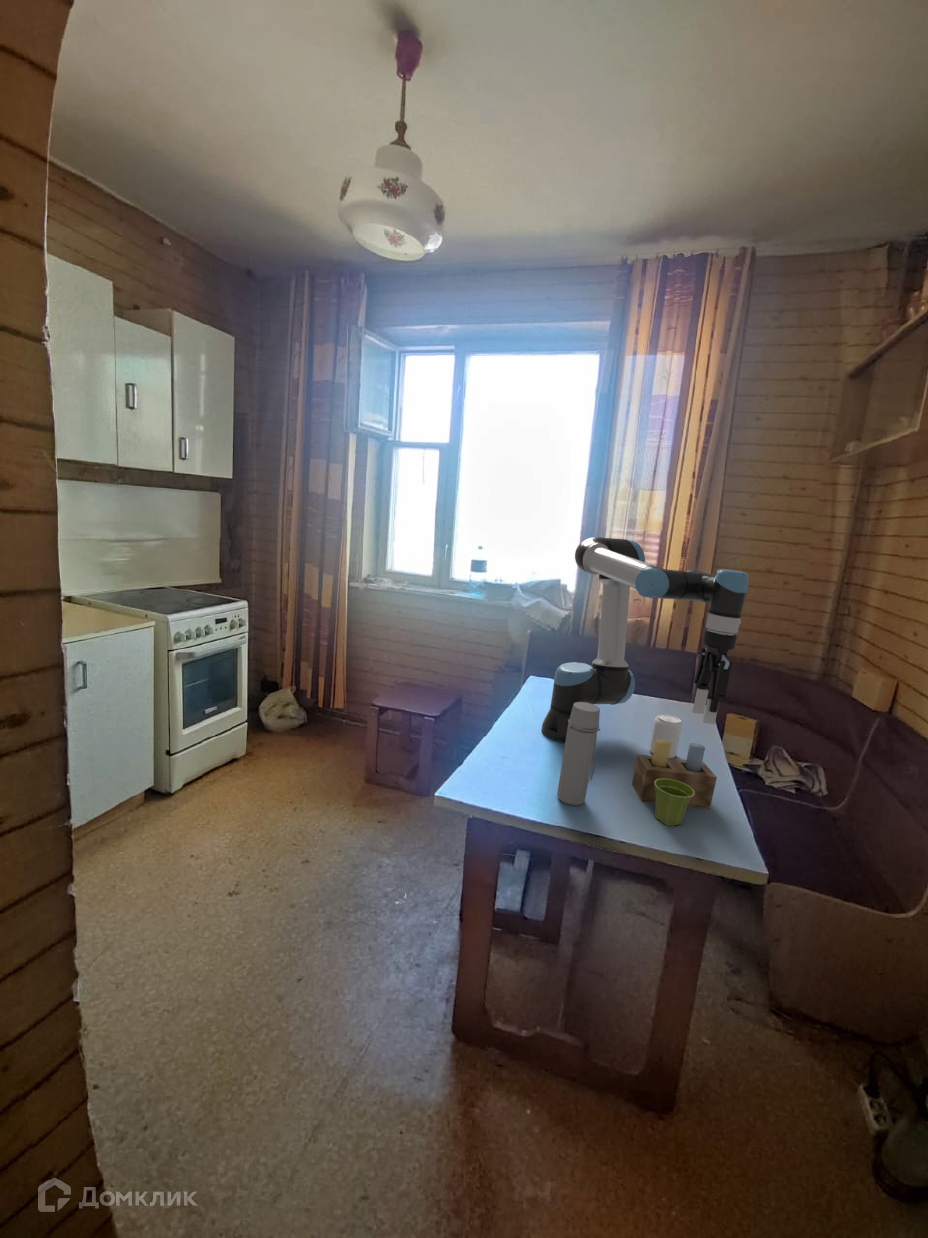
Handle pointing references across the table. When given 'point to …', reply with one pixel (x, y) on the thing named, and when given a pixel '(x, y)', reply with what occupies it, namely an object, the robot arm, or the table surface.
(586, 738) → the water bottle
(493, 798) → the table surface
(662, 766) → the ochre peg
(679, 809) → the plant pot
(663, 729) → the beverage can
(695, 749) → the blue peg
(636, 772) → the walnut block
